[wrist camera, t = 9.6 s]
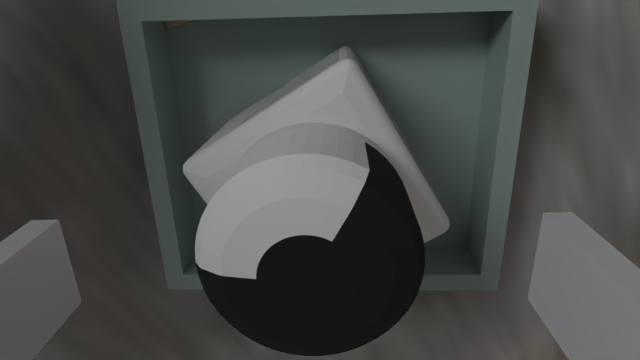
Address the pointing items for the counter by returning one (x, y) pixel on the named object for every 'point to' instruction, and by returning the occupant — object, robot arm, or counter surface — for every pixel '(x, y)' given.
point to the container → (313, 214)
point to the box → (386, 75)
